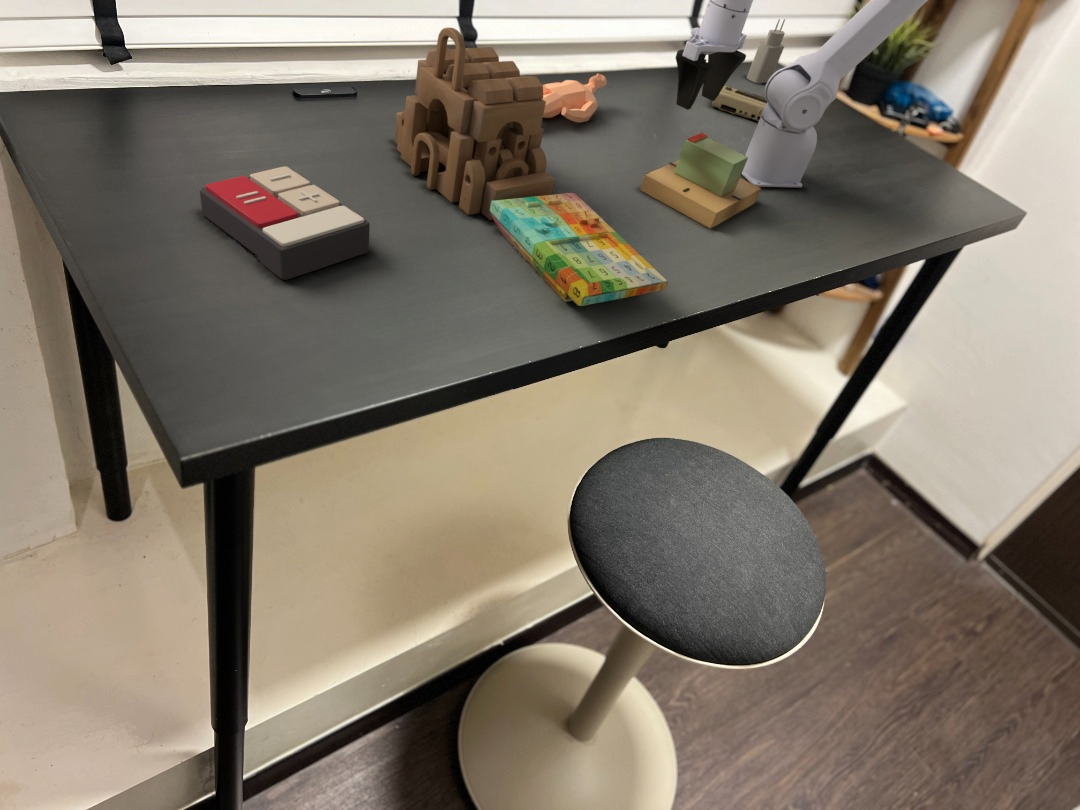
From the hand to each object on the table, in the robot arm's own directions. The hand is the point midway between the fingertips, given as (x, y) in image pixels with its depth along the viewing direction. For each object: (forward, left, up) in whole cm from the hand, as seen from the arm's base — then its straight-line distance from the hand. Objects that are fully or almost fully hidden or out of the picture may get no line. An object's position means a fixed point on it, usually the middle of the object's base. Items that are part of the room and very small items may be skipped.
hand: (695, 102), depth 116 cm
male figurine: (+16, -15, -10) cm, 24 cm away
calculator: (+61, +20, -10) cm, 65 cm away
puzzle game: (+30, +28, -10) cm, 42 cm away
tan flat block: (+2, +11, -9) cm, 15 cm away
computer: (-28, -20, -10) cm, 36 cm away
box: (+2, +11, -7) cm, 13 cm away
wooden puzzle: (+36, +6, -10) cm, 38 cm away
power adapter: (-41, -38, -10) cm, 57 cm away
